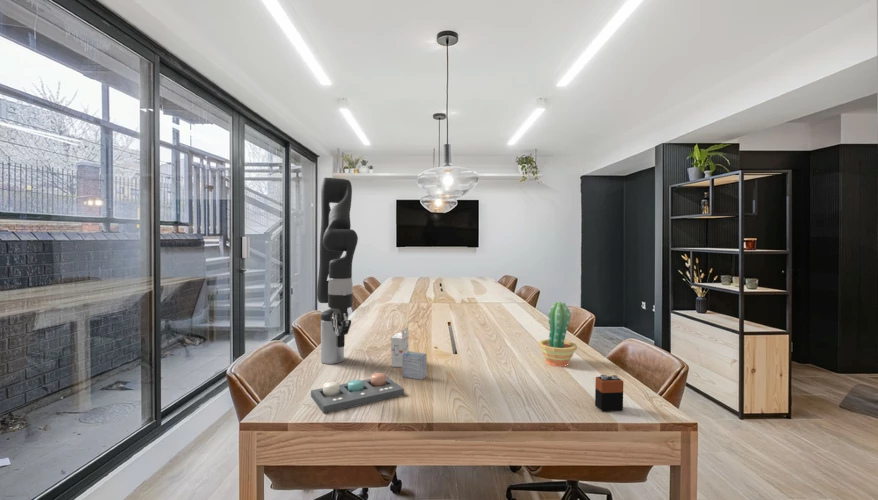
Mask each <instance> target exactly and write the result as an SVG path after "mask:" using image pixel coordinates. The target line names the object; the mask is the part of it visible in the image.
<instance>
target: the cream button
mask: <svg viewBox="0 0 878 500" xmlns="http://www.w3.org/2000/svg"><path fill="white" fill-rule="evenodd" d="M340 385H341V383H339V381H328V382H325V383H323V384H322V388H323V396H324V398H326V397H330V396H335V395H339V393H340Z"/></svg>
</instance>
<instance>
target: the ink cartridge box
mask: <svg viewBox="0 0 878 500" xmlns="http://www.w3.org/2000/svg"><path fill="white" fill-rule="evenodd" d="M390 339H391V340H390V341H391V344H390V345H391V348H390V349H391V356H390V357H391V360H390V361H391V365H390V366H391V367H393V368H403V354H404V353H405V352H407V351H409V327H408V326H406V327H404V328H402V329H401V332H397V333H395V334H394V335H393V336H392V337H391V338H390Z"/></svg>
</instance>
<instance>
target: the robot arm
mask: <svg viewBox="0 0 878 500" xmlns="http://www.w3.org/2000/svg"><path fill="white" fill-rule="evenodd" d="M320 186H321V187H320V188H321V189H320V202H321V203H320V205H321V220H320V235H319V267H318V279H317V285H316V286H317V288H316V298H317V302H318V303H320V304H327V307H328V308H329V309H326V310H324V311H322V312H321V314H320V363H323V364H327V365H329V364H330V365H331V364H339V363H342V362H343V361H344V360H345V345H346V344H345V337H346V336H345V335H348V334H349V332H350V328H351V325H352V320H351V319H349V311H348V309H349V308H352V307H353V305H354V303H353V299H354V298H353V297H354V296H353V293H354V291H353V290H354V289H353V259H354V255H355V252H356V248H357V245H358V240H359V238H358V237H359V236H358V234H357V232H356V231H355V230H354V229H351V228H352V227H351V226H352V225H351V215H350V214H351V208H352V198H353V195H352V194H353V189H352V188H353V187H352V183H351V181H350V180H349V179H346V178H338V177H337V178H335V177H324V178H323V179H322V181H321V185H320ZM330 204H335V205H334V206H333V207H332V208H331V205H330ZM344 252H345V255H343V254H344Z"/></svg>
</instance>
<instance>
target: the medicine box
mask: <svg viewBox="0 0 878 500" xmlns="http://www.w3.org/2000/svg"><path fill="white" fill-rule="evenodd" d="M427 373H428V372H427V353H425V352H419V351H412V350H408V351H407V352H405V353H404V354H403V367H402V377H403V378H409V379H414V380H415V379H416V380H419V381H422V380H423V379H424V378H426V377H427Z"/></svg>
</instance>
